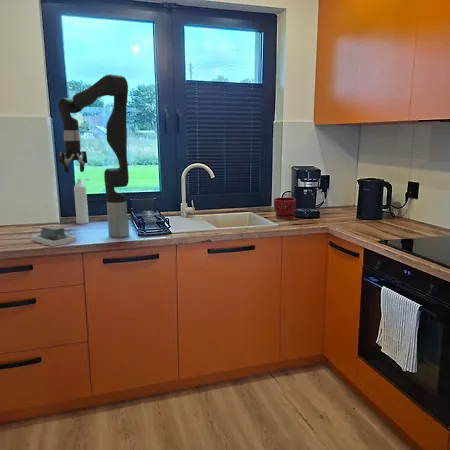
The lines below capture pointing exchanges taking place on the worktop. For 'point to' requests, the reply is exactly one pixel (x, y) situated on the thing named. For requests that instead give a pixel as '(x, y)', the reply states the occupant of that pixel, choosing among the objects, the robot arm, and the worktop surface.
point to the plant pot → (280, 207)
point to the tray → (51, 242)
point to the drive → (52, 232)
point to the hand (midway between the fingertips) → (74, 172)
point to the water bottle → (81, 202)
